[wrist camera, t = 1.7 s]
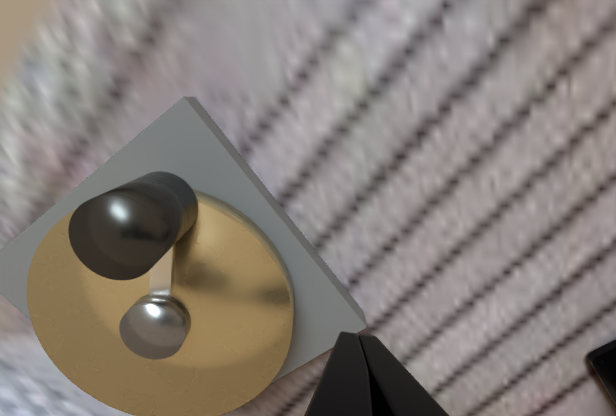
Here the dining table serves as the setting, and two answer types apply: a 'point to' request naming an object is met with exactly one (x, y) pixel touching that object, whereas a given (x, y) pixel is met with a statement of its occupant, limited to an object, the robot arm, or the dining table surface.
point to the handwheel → (162, 300)
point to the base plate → (225, 186)
